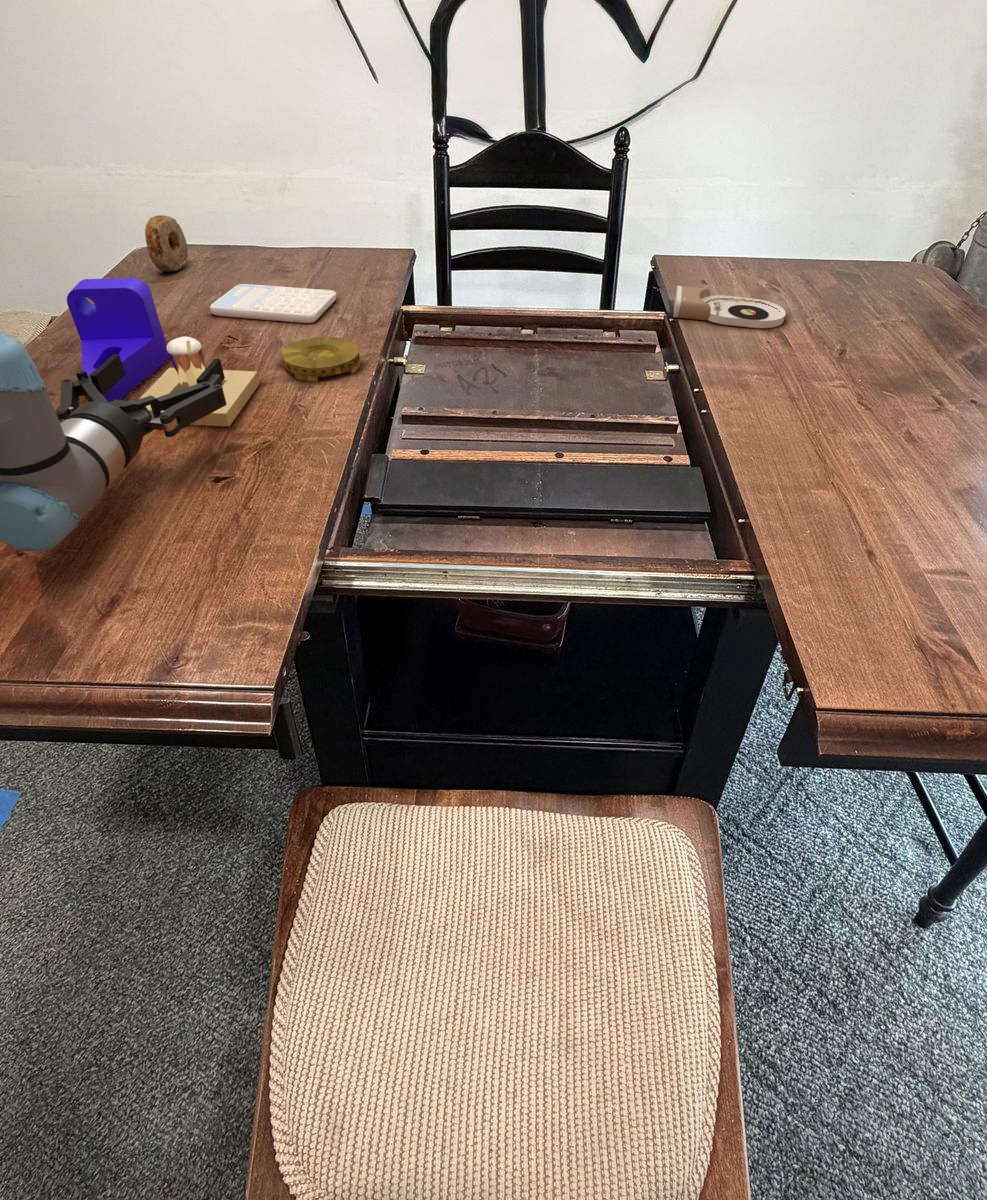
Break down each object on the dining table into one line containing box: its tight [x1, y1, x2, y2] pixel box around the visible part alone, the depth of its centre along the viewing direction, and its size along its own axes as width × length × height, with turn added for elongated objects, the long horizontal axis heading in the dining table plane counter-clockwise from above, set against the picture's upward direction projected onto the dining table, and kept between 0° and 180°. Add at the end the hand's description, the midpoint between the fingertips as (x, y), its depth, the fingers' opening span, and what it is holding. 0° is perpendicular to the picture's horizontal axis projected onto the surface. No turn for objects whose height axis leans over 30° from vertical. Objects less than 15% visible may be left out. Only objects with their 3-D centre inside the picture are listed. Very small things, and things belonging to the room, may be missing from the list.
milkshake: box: [166, 335, 206, 389], centre depth 100 cm, size 4×5×10 cm
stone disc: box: [144, 214, 189, 273], centre depth 144 cm, size 10×4×10 cm, turn 169°
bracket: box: [66, 277, 169, 402], centre depth 105 cm, size 18×11×12 cm, turn 7°
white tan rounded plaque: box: [673, 285, 787, 329], centre depth 132 cm, size 12×3×20 cm
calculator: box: [209, 283, 338, 324], centre depth 132 cm, size 13×20×2 cm, turn 80°
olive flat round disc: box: [281, 336, 361, 382], centre depth 113 cm, size 12×12×2 cm
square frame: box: [139, 367, 261, 428], centre depth 103 cm, size 14×14×2 cm
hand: (169, 366), depth 95 cm, fingers open, 13 cm apart
